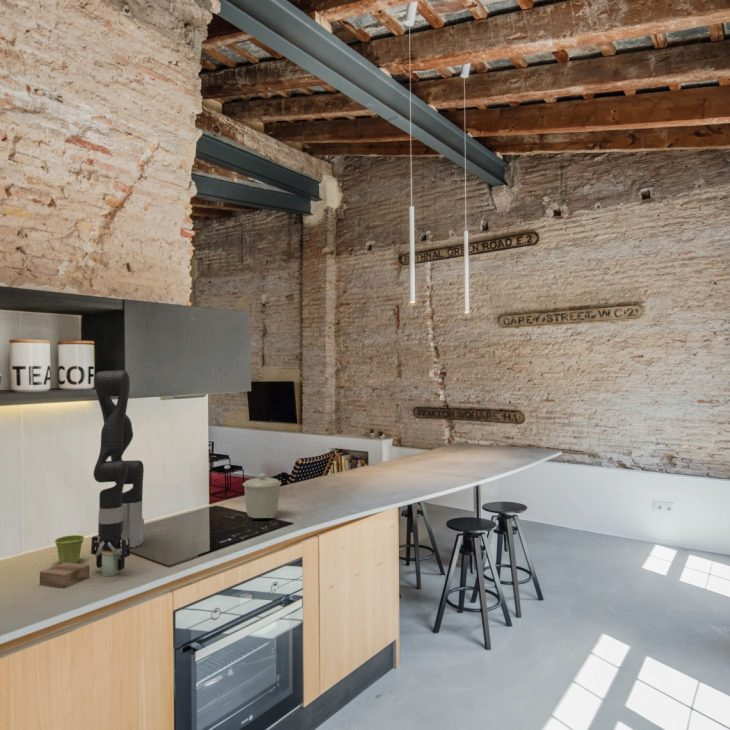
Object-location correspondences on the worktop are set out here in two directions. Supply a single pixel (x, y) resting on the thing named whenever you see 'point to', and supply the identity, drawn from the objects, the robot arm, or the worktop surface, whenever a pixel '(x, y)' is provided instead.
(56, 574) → the plinth
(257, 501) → the canister
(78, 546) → the plant pot
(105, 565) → the jar
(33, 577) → the worktop surface
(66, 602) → the worktop surface
